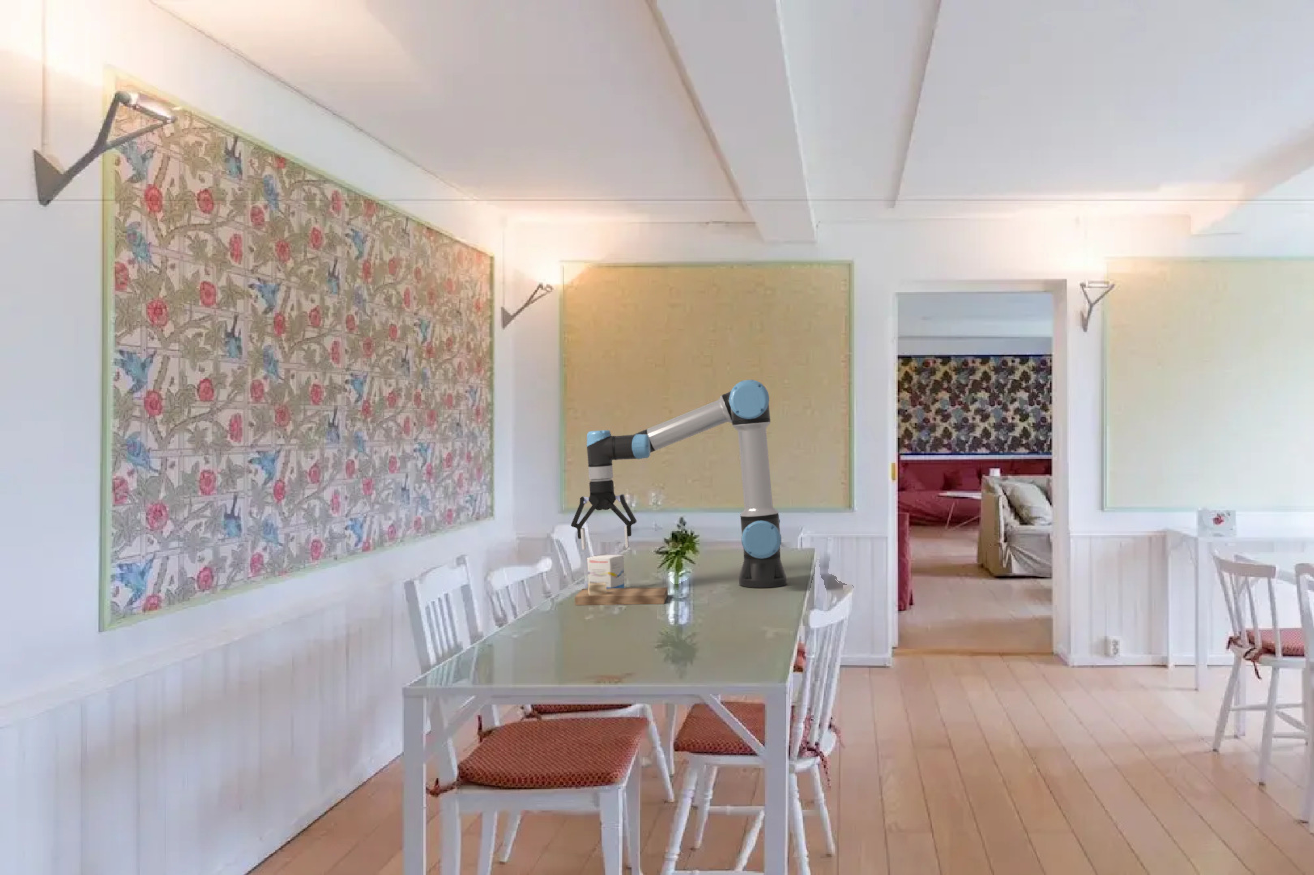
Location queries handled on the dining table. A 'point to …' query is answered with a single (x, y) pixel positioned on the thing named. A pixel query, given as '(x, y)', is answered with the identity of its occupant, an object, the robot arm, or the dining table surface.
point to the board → (624, 596)
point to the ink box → (606, 570)
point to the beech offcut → (597, 588)
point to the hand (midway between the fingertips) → (605, 548)
